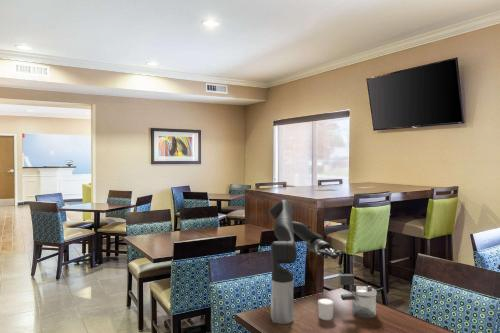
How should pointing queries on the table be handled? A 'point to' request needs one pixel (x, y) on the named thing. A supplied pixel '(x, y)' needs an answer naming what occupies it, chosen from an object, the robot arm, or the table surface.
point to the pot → (362, 305)
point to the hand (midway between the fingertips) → (335, 257)
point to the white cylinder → (325, 308)
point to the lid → (357, 290)
